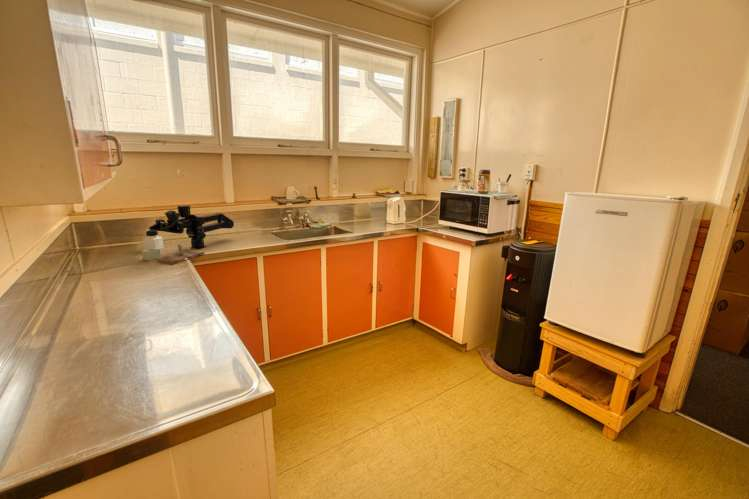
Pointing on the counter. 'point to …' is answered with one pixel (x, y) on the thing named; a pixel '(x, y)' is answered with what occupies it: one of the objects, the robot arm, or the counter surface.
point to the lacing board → (180, 256)
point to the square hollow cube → (151, 254)
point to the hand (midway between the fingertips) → (155, 229)
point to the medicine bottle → (153, 240)
